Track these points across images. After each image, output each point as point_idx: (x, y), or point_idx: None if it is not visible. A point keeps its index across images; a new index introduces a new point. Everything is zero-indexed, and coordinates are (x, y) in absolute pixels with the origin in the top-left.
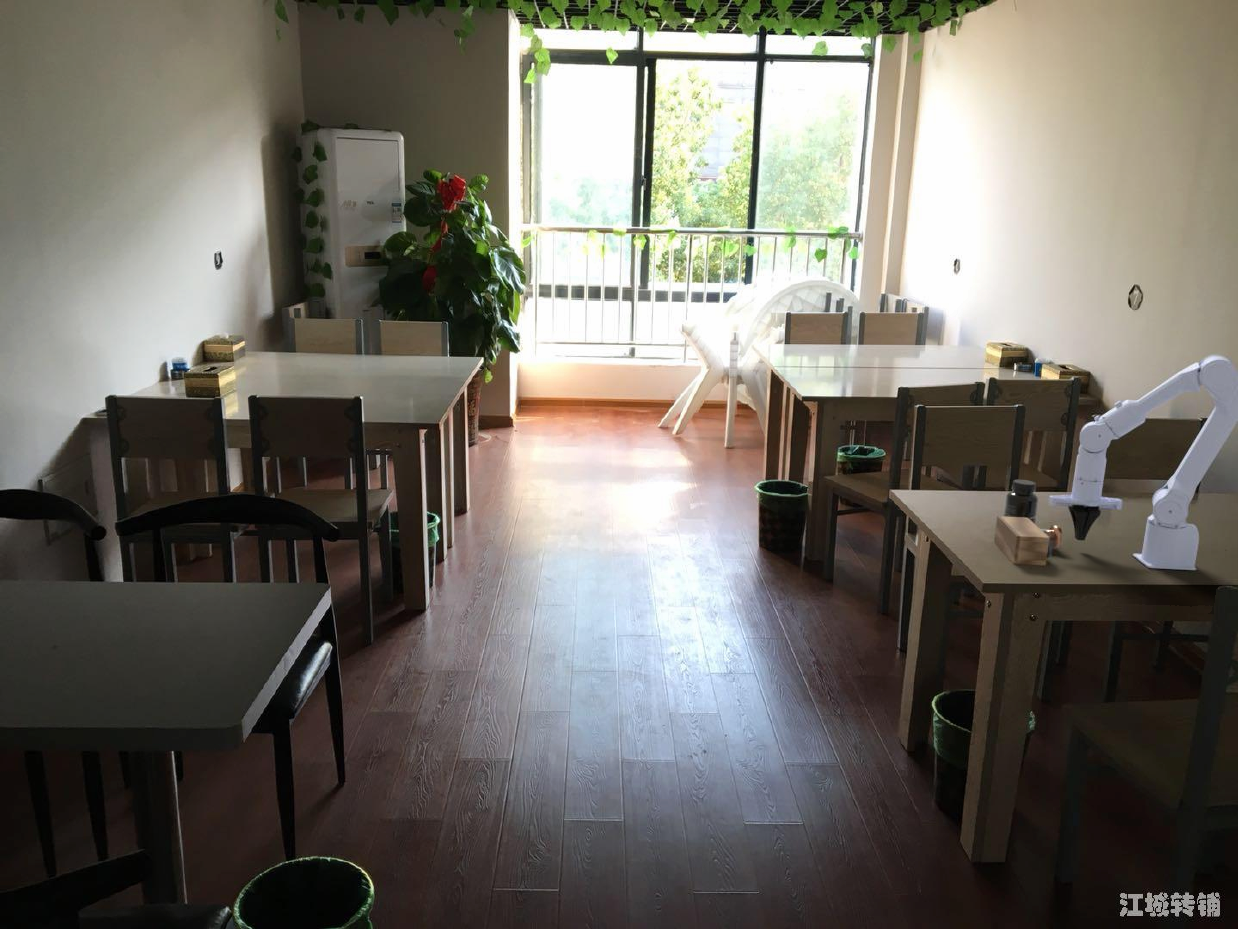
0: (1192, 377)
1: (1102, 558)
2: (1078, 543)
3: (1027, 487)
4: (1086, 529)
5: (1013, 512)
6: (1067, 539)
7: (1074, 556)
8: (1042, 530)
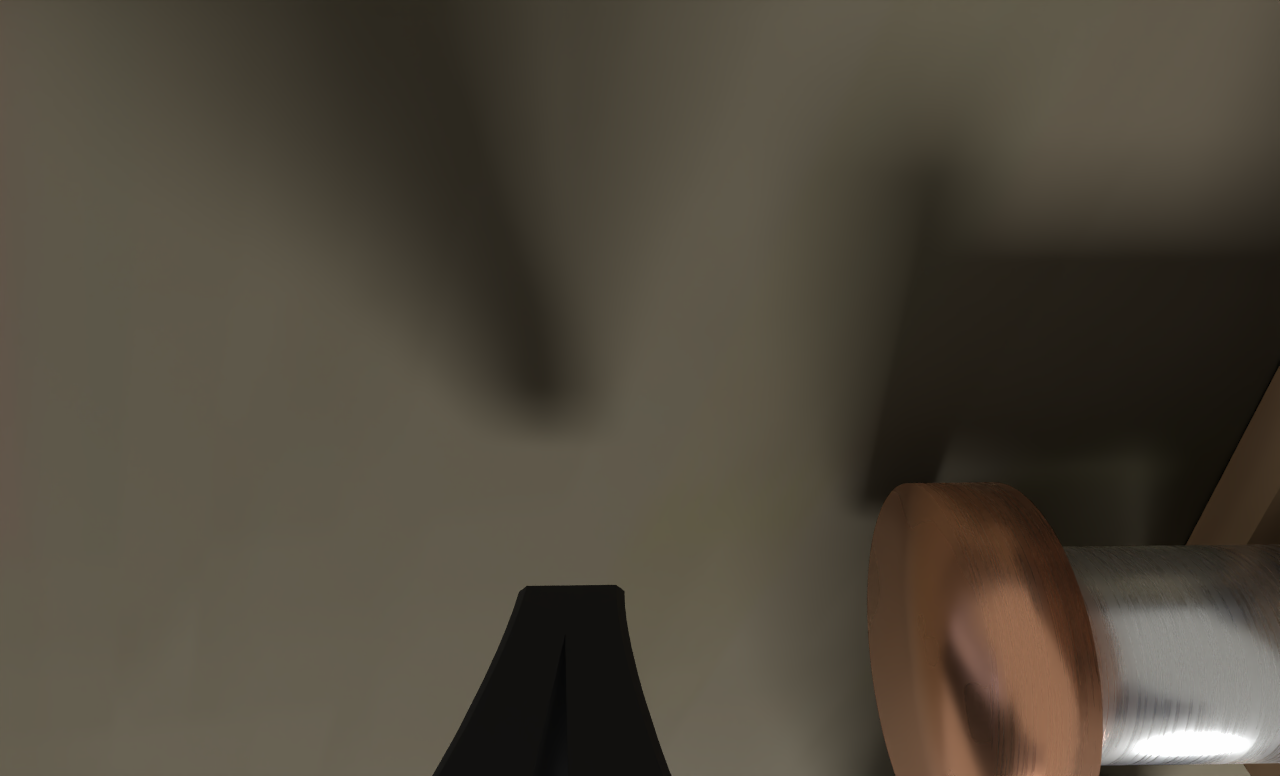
0: None
1: (316, 257)
2: None
3: None
4: (505, 750)
5: None
6: None
7: (730, 281)
8: (1261, 710)
